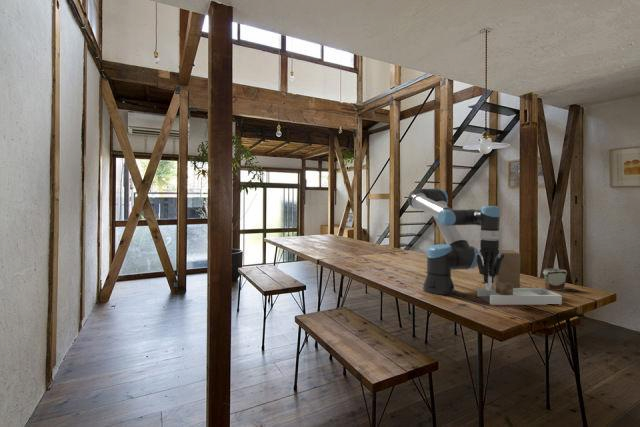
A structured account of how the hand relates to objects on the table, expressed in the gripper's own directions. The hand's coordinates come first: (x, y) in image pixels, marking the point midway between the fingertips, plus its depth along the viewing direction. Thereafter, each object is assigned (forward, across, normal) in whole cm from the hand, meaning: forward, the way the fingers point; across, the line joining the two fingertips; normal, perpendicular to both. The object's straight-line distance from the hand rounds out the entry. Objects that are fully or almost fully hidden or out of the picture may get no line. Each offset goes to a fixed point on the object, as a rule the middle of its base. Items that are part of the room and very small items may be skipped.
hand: (488, 289), depth 148 cm
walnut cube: (+2, +8, 0) cm, 8 cm away
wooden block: (+5, +19, +18) cm, 27 cm away
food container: (+5, +45, +20) cm, 50 cm away
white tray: (+5, +14, 0) cm, 15 cm away
